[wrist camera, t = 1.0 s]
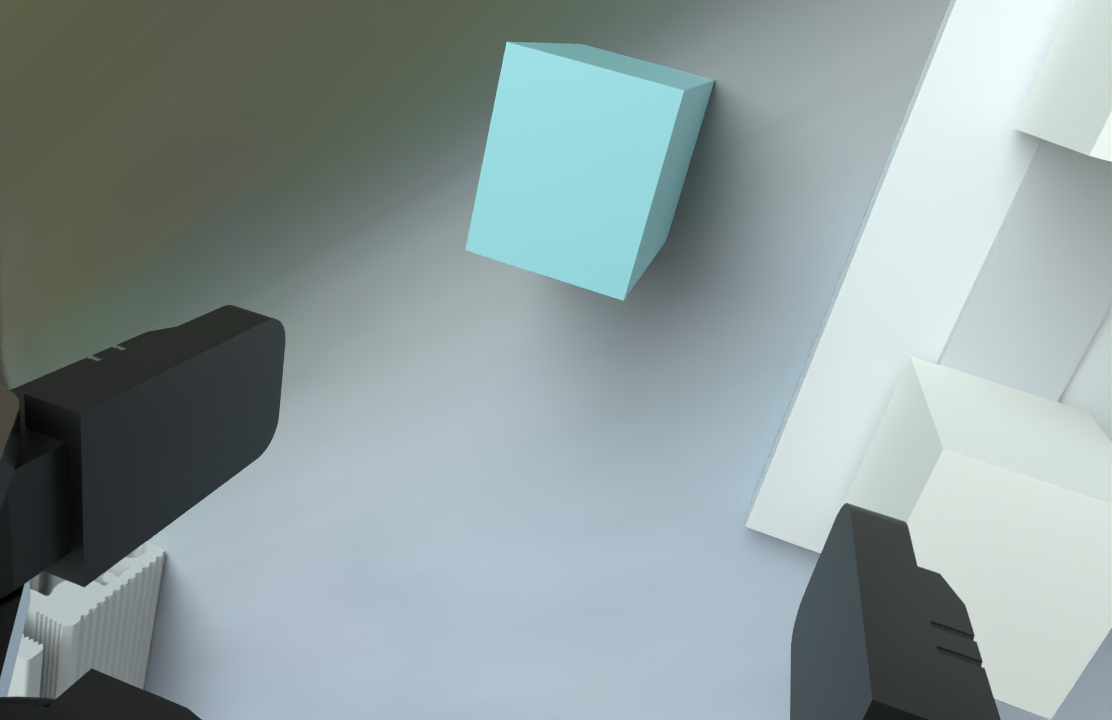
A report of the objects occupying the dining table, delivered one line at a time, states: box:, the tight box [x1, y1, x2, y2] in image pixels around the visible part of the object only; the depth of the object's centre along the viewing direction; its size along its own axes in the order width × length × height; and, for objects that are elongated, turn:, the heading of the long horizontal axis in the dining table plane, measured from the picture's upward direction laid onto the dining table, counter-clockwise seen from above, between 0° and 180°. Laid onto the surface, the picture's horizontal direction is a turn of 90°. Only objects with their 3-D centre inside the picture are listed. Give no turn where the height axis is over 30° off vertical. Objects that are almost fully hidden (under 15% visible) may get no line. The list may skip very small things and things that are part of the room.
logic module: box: [466, 42, 715, 301], centre depth 27 cm, size 6×5×8 cm
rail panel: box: [745, 0, 1112, 720], centre depth 24 cm, size 26×12×9 cm, turn 166°
